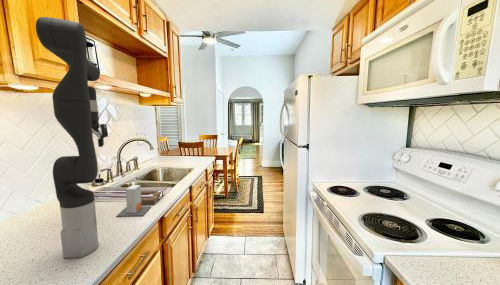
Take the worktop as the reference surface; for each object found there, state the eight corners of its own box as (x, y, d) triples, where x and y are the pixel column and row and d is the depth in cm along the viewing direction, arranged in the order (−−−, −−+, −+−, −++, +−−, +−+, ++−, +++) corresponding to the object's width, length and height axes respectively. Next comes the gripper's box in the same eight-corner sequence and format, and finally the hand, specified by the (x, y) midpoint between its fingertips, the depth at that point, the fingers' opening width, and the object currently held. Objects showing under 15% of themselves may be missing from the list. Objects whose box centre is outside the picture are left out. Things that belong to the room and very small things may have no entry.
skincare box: (136, 213, 101) (134, 189, 100) (126, 213, 101) (125, 189, 100) (142, 208, 107) (140, 184, 106) (133, 208, 107) (132, 184, 106)
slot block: (154, 205, 112) (153, 199, 112) (127, 205, 111) (127, 200, 111) (162, 195, 126) (162, 190, 125) (138, 195, 124) (138, 190, 124)
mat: (143, 216, 100) (143, 215, 100) (116, 217, 99) (116, 215, 99) (151, 207, 110) (151, 206, 110) (126, 207, 109) (126, 206, 109)
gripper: (64, 110, 92) (68, 148, 94) (99, 110, 93) (102, 148, 95) (76, 110, 99) (80, 145, 101) (109, 111, 100) (111, 145, 102)
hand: (90, 146), depth 98 cm, fingers open, 8 cm apart
